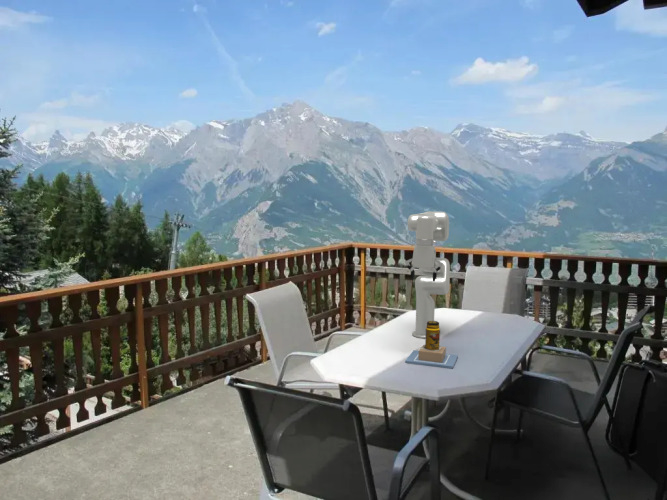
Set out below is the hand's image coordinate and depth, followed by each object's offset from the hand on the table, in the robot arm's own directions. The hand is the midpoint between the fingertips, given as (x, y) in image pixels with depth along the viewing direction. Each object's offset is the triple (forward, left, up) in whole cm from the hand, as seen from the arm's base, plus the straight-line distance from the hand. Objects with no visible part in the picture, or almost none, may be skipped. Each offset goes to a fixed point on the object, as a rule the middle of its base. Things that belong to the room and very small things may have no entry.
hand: (423, 280), depth 233 cm
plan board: (+12, +7, -33) cm, 36 cm away
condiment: (+12, +6, -28) cm, 31 cm away
